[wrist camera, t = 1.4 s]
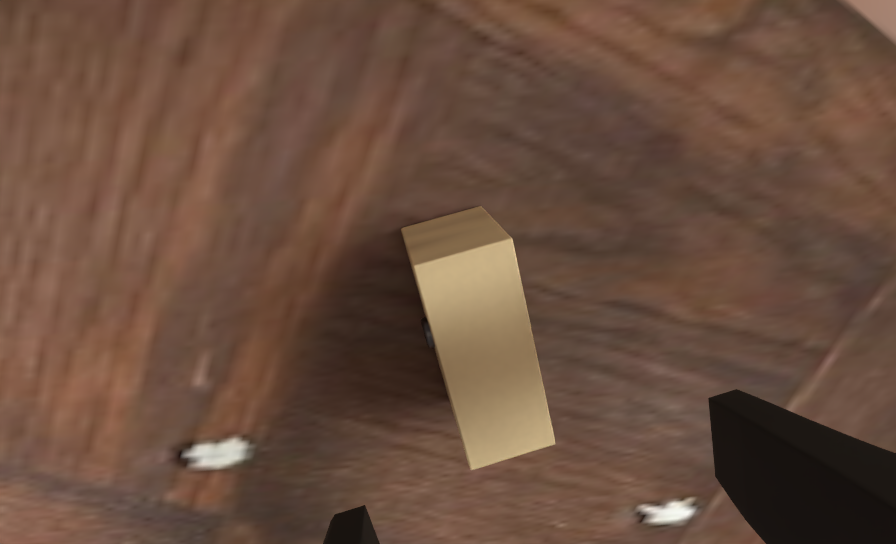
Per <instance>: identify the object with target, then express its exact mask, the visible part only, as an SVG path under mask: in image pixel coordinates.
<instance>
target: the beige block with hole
mask: <svg viewBox="0 0 896 544" xmlns="http://www.w3.org/2000/svg"><path fill="white" fill-rule="evenodd" d="M401 232H402V235H403V239H404V243H405V246H406V250H407V253H408V257H409V260H410V264H411V267H412V271H413V274H414V278H415V281H416V285H417V288H418V292H419V295H420V299H421V302H422V306H423V309H424V313H425V316H426V317H424V318H422V319H421V324H422V327H423V331H424V334H425V338H426V341H427V345H428V347H429V348H435V352H436V355H437V359H438V362H439V366H440V369H441V373H442V376H443V380H444V383H445V387H446V390H447V394H448V397H449V401H450V404H451V408H452V411H453V414H454V418H455V421H456V424H457V428H458V431H459V434H460V437H461V441H462V444H463V447H464V451H465V454H466V457H467V461H468V464H469V467H470V469H471V470H474V469H477V468H481V467H484V466H487V465H490V464H493V463H497V462H500V461H503V460H506V459H509V458H513V457H516V456H519V455H522V454H525V453H529V452H532V451H535V450H538V449H541V448H545V447H548V446H551V445H554V444H555V438H554V433H553V429H552V424H551V419H550V414H549V410H548V405H547V400H546V395H545V391H544V386H543V381H542V377H541V372H540V367H539V362H538V358H537V353H536V348H535V343H534V339H533V334H532V329H531V324H530V320H529V315H528V310H527V306H526V301H525V296H524V291H523V287H522V282H521V277H520V272H519V268H518V263H517V258H516V253H515V249H514V244H513V239H512V238H511V237H510V236H509V235H508V234H507V233H506V232H505V231H504V230H503V229H502V227H501V226H500V225H499V224H498V223H497V222H496V221H495V220H494V219H493V218H492V217H491V216H490V215H489V214H488V213H487V212H486V211H485V210H484V209H483V208H482V207H481V206H478V207H475V208H471V209H468V210H464V211H461V212H457V213H454V214H450V215H446V216H443V217H439V218H436V219H432V220H429V221H425V222H421V223H418V224H414V225H411V226H407V227H404V228H402V229H401Z"/></svg>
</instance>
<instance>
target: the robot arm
mask: <svg viewBox="0 0 896 544" xmlns="http://www.w3.org/2000/svg"><path fill="white" fill-rule="evenodd" d="M709 409H710V420H711V431H712V442H713V454H714V465H715V476H716V478H717V479H718V481H719V482H720V484H721V485H722V487H723V488H724V490H725V491H726V493H727V494H728V496H729V497H730V499H731V500H732V502H733V503H734V504H735V506H736V507H737V509H738V510H739V511H740V513H741V514H742V515H743V517H744V518H745V520H746V521H747V522H748V523H749V525H750V526H751V527H752V528H753V529H754V530H755V532H756V533H757V534H758V535H759V536H760V537H761V538H762V539H763V541H764V542H765V543H766V544H896V453H893V452H890V451H888V450H885V449H882V448H879V447H877V446H874V445H871V444H869V443H866V442H864V441H861V440H858V439H856V438H853V437H851V436H848V435H846V434H843V433H841V432H838V431H836V430H833V429H831V428H828V427H826V426H824V425H821V424H819V423H816V422H814V421H812V420H809V419H807V418H804V417H802V416H800V415H797V414H795V413H793V412H790V411H788V410H786V409H783V408H781V407H779V406H776V405H774V404H772V403H769V402H767V401H764V400H762V399H760V398H757V397H755V396H752V395H750V394H747V393H745V392H742V391H740V390H737V389H736V390H733V391H730V392H726V393H723V394H720V395H717V396H714V397H710V398H709ZM323 544H380V543H379V541H378V538H377V535H376V533H375V530H374V528H373V525H372V522H371V520H370V517H369V514H368V512H367V509H366V507H365V505H364V506H361V507H358V508H355V509H351V510H348V511H345V512H342V513H338V514H335V515H334V517H333V518H332V520H331V522H330V525H329V528H328V531H327V534H326V537H325V540H324V543H323Z"/></svg>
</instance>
